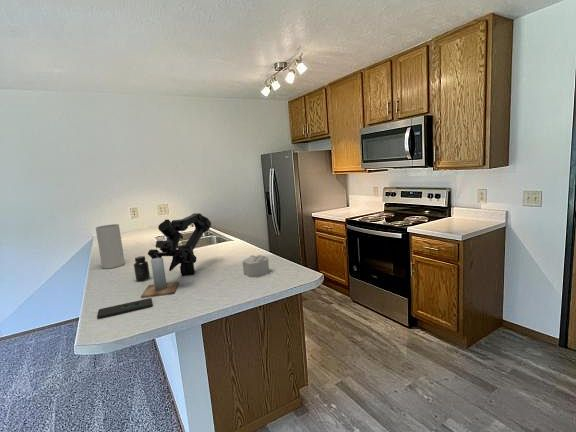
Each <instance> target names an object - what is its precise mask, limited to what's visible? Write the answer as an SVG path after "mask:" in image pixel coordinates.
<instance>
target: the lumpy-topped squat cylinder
mask: <svg viewBox="0 0 576 432" xmlns="http://www.w3.org/2000/svg"><path fill="white" fill-rule="evenodd" d="M242 270H243V275H244V276H247V277H248V278H257V277H261V276H264V275H267V274H268V273H270V265H269V256H267V255H266V256H265V255H261V254H258V255H253V254H252V255H250V256H249V257H247V258H245V259H243V260H242Z"/></svg>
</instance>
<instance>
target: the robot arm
mask: <svg viewBox="0 0 576 432" xmlns="http://www.w3.org/2000/svg"><path fill="white" fill-rule="evenodd" d="M190 225H194V228H195V229H194V231H192V233H191V235H190V237H189V239H188V240H187V241H186V243H185V244H184V245H180V246H179V243H180V240H181V239H184V236H183V234H182V233H181V232H185V231H186V230H187V229H188V228H189V226H190ZM211 226H212V222H211V220H210V219H209V218H208V217H206V216H204V215H203V214H202V213H198V212H197V213H192V214H191V215H188V216H186V217H184V218H182V219H174V220H170V219H164V221H162V222H161V223H160V224H158V227H157V228H158V231H159V232H161V234H162V235H163V236H165V237H167V238H166V240H156V242H155V248H156V249H149V250H148V252H147V255H148V256H149V257H150V258H151V260H152V259H154V258H163V257H172V261H171V263H170V266H169V269H168V271H169V272H171V271H173V270H174V269H175V268H176V267H177V266H178V265H179V270H180V275H181V277H184V276H193V275H195V272H196V270H195V263H196V262H197V256H196V255H195V254H194V253H195V252H194V249H195V248H196V246H197V244H198V243H199V241H200V239H201V238H202V236H203V234H204V233H206V232H208V231H209V230H210V229H211ZM158 249H159V250H160V251H159V250H158Z"/></svg>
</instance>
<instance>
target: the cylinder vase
mask: <svg viewBox="0 0 576 432" xmlns="http://www.w3.org/2000/svg"><path fill="white" fill-rule="evenodd" d="M95 231H96V238H97V239H96V240H97V244H98V245H97V246H98V251H99V257H100V264H101V267H102V268H103V269H105V270H107V269H108V270H109V269H114V268H119V267H122V266H124V265H125V262H126V261H125V256H124V255H125V254H124V249H123V243H122V235H121V230H120V224H117V223H116V224H104V225H99V226H96V227H95Z"/></svg>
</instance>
